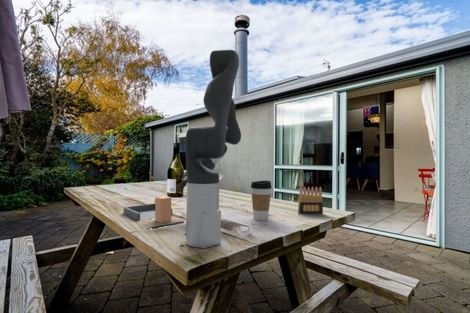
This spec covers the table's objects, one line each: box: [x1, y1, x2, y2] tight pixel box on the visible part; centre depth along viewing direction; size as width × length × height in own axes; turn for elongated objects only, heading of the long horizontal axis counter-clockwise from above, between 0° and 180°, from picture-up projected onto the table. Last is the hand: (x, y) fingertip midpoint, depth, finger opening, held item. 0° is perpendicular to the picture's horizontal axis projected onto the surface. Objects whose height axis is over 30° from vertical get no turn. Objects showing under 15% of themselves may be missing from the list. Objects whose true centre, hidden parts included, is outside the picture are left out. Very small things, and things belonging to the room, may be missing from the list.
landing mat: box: [150, 221, 185, 230], centre depth 91 cm, size 9×12×1 cm
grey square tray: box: [123, 203, 173, 221], centre depth 101 cm, size 15×14×4 cm
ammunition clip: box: [297, 186, 324, 215], centre depth 110 cm, size 11×2×12 cm, turn 94°
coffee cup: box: [250, 180, 273, 221], centre depth 100 cm, size 8×8×15 cm
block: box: [154, 195, 172, 224], centre depth 91 cm, size 4×4×9 cm
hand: (184, 190), depth 97 cm, fingers open, 8 cm apart
